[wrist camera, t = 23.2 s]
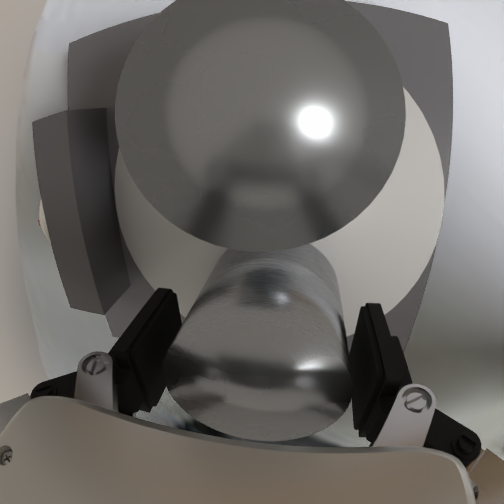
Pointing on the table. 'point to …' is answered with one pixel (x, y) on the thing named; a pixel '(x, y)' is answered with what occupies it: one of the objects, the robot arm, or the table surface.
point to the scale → (207, 255)
